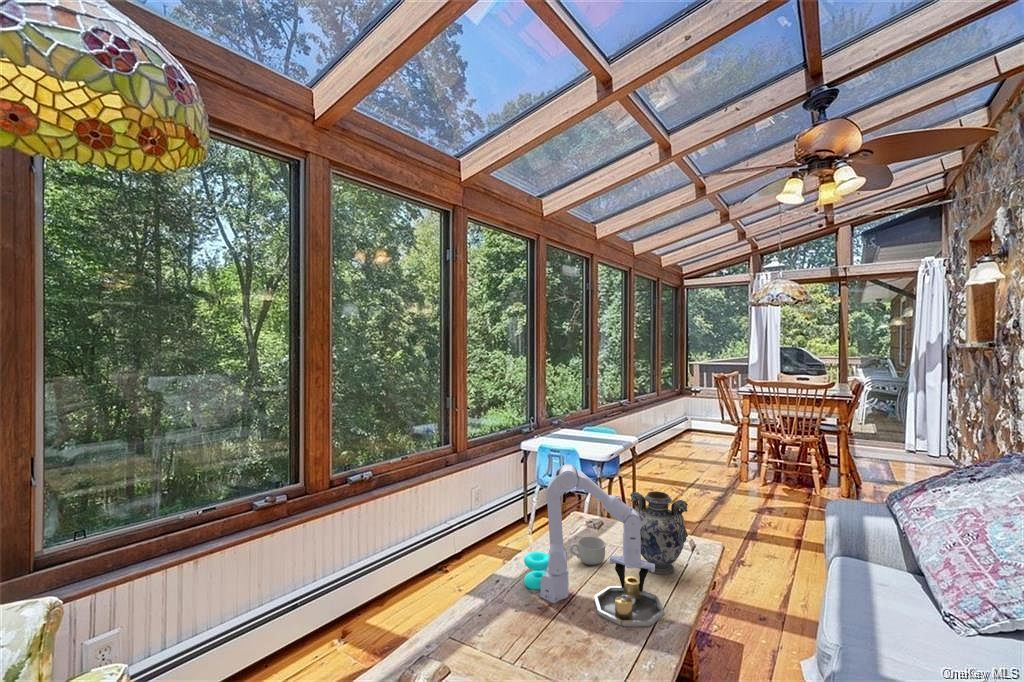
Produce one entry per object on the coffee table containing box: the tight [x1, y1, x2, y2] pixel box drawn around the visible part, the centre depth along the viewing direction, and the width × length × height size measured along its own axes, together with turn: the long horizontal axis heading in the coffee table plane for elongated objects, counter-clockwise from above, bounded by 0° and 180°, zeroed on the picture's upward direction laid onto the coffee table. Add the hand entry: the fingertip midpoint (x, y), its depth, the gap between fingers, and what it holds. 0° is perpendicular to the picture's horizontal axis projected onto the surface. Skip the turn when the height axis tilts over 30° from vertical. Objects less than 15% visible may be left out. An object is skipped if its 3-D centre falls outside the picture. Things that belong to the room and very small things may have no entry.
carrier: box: [593, 585, 665, 628], centre depth 151 cm, size 21×21×7 cm
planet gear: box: [624, 575, 641, 600], centre depth 157 cm, size 5×5×5 cm
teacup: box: [569, 535, 606, 567], centre depth 184 cm, size 14×11×8 cm
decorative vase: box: [629, 491, 689, 576], centre depth 178 cm, size 21×19×28 cm
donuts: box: [523, 551, 549, 590], centre depth 167 cm, size 10×10×10 cm
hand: (632, 588), depth 157 cm, fingers open, 5 cm apart
